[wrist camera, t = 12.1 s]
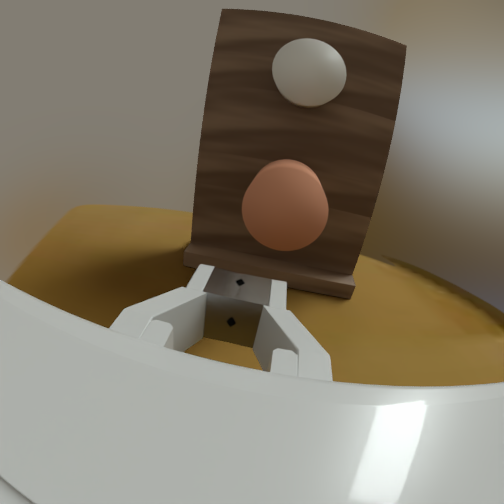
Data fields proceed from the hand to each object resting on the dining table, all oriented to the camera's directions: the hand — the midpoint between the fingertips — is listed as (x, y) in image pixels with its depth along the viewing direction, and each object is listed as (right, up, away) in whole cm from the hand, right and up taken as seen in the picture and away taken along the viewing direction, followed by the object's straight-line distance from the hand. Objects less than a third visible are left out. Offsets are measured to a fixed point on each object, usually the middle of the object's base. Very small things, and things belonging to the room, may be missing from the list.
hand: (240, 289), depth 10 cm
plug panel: (+2, 0, +19) cm, 19 cm away
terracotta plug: (+3, +4, +12) cm, 13 cm away
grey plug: (+5, +13, +11) cm, 18 cm away
